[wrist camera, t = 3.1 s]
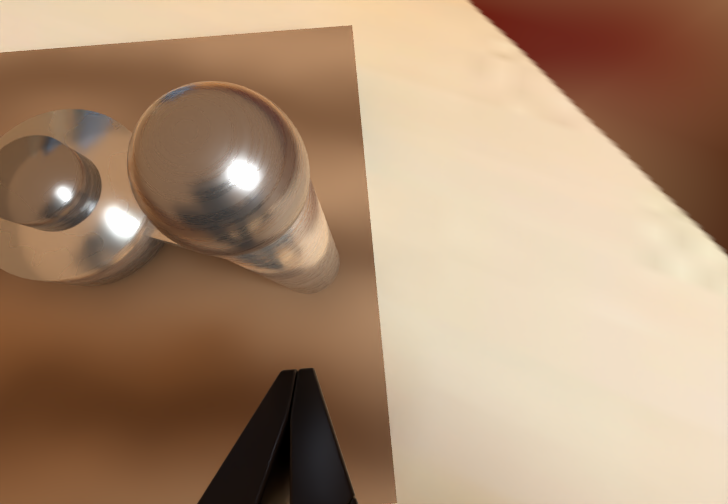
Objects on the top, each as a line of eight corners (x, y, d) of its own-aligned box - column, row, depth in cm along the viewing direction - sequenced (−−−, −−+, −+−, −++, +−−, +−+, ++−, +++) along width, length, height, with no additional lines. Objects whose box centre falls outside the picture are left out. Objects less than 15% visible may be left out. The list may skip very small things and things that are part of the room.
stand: (392, 479, 15) (397, 509, 13) (-97, 526, 15) (-186, 565, 13) (353, 55, 19) (351, 16, 17) (-39, 86, 19) (-100, 51, 16)
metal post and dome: (319, 354, 14) (197, 434, 4) (-117, 232, 15) (-1139, 38, 5) (363, 197, 15) (359, -58, 5) (-44, 94, 16) (-743, -299, 6)
